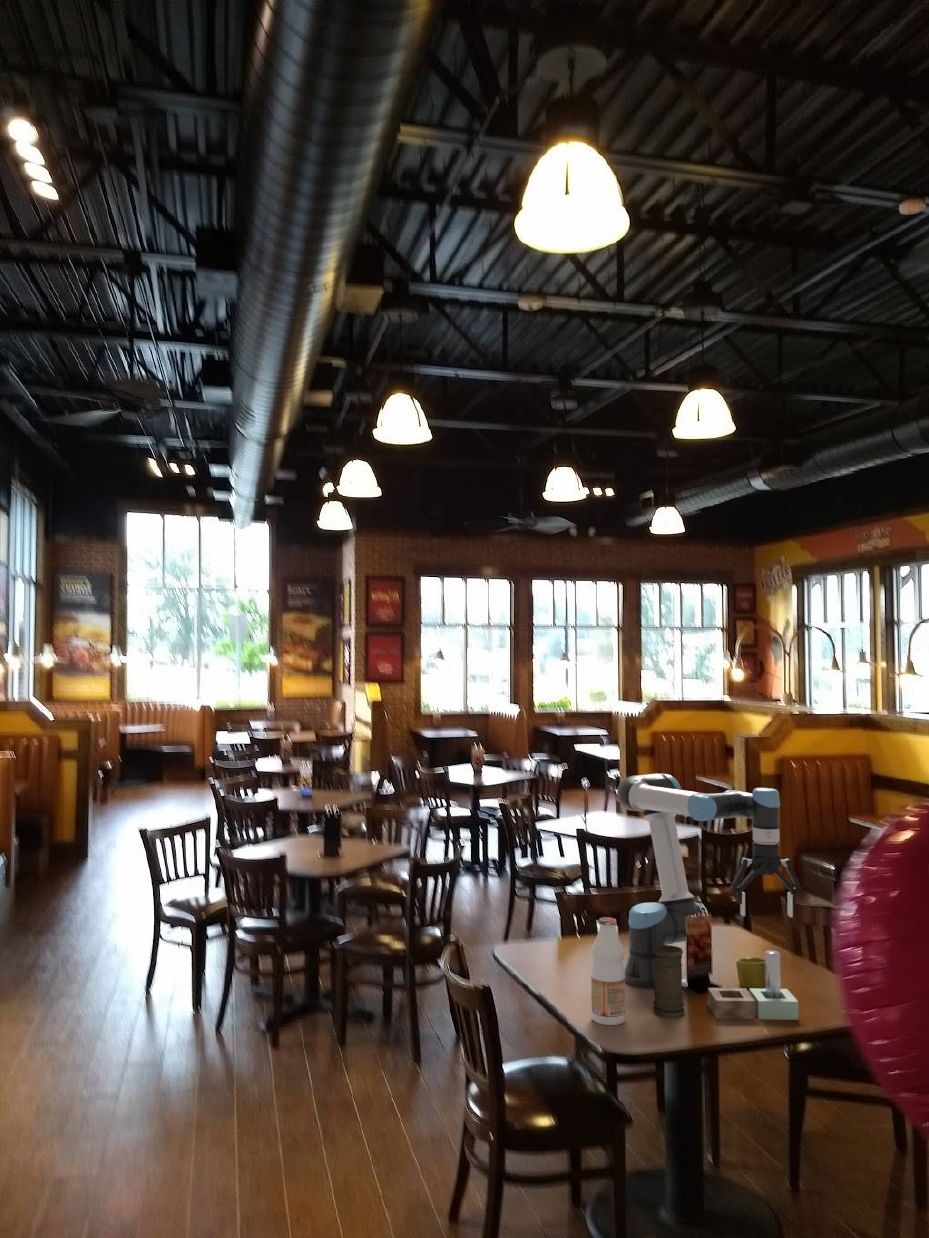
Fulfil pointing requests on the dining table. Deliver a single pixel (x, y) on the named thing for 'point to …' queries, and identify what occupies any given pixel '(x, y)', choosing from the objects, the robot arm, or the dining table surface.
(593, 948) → the fruit juice
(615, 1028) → the dining table surface
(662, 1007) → the container
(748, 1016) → the block
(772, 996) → the pin
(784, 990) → the dock block
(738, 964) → the mug
